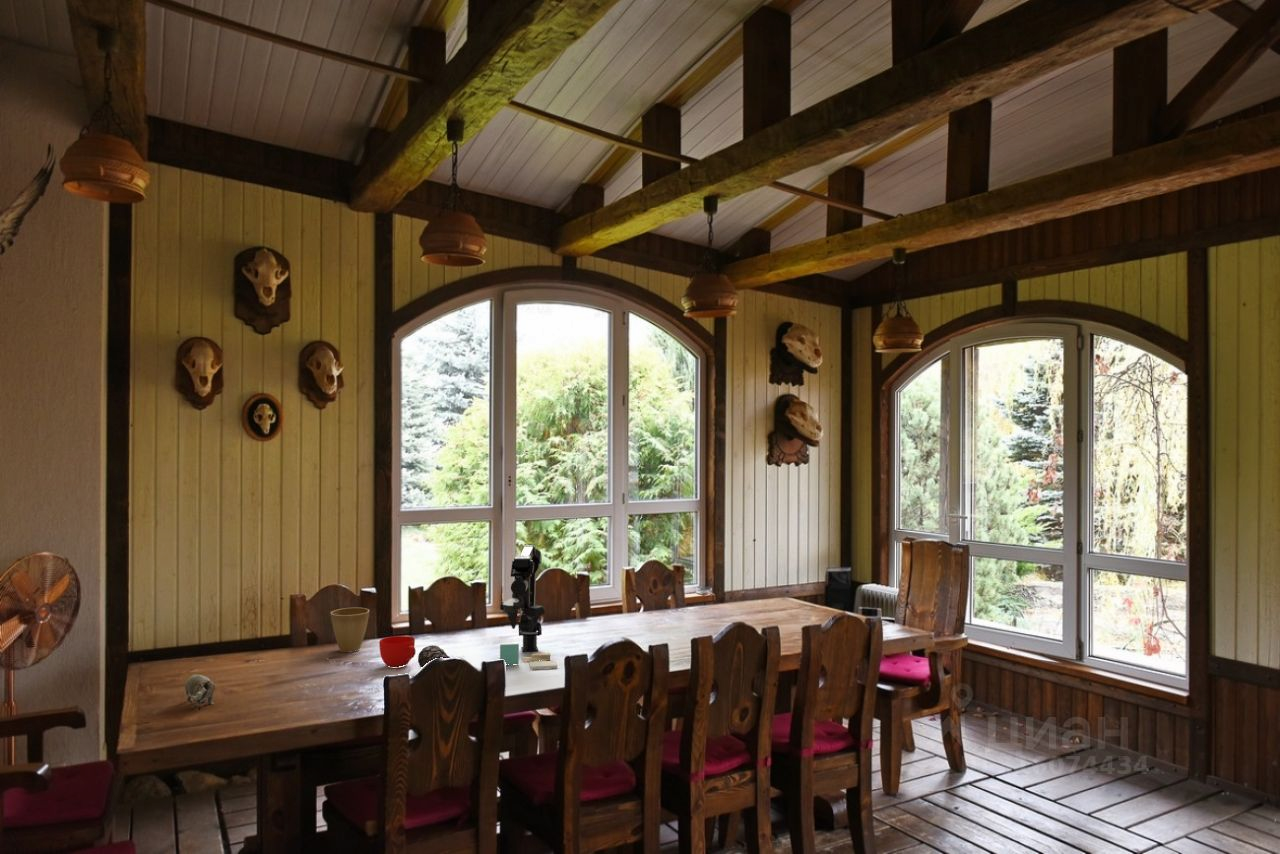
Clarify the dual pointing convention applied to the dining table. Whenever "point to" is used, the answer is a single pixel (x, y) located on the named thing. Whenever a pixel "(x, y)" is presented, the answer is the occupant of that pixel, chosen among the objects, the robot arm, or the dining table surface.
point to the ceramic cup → (397, 650)
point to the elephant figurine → (199, 689)
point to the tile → (510, 653)
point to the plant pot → (349, 627)
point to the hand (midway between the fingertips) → (522, 630)
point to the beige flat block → (537, 657)
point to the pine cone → (430, 654)
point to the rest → (543, 664)
